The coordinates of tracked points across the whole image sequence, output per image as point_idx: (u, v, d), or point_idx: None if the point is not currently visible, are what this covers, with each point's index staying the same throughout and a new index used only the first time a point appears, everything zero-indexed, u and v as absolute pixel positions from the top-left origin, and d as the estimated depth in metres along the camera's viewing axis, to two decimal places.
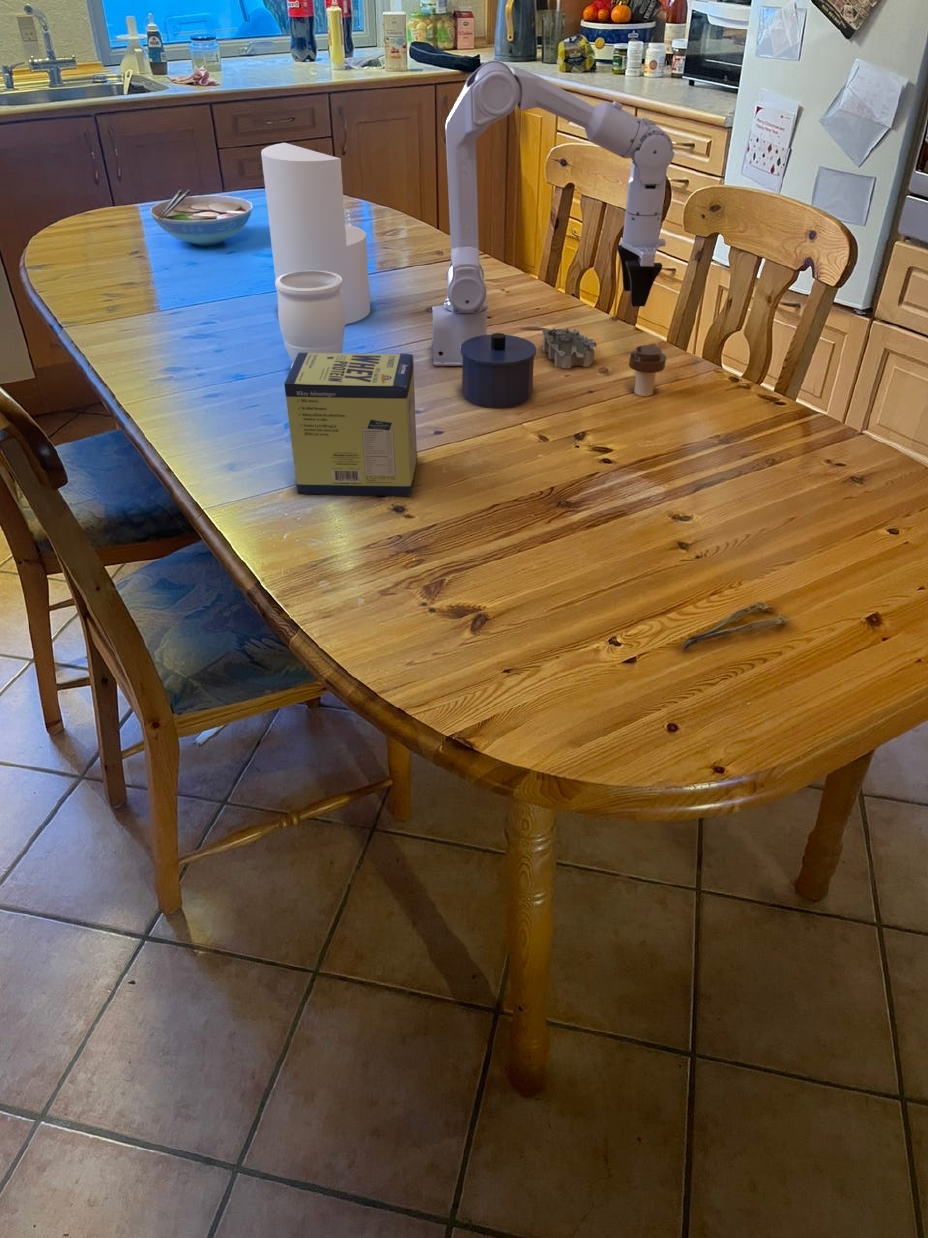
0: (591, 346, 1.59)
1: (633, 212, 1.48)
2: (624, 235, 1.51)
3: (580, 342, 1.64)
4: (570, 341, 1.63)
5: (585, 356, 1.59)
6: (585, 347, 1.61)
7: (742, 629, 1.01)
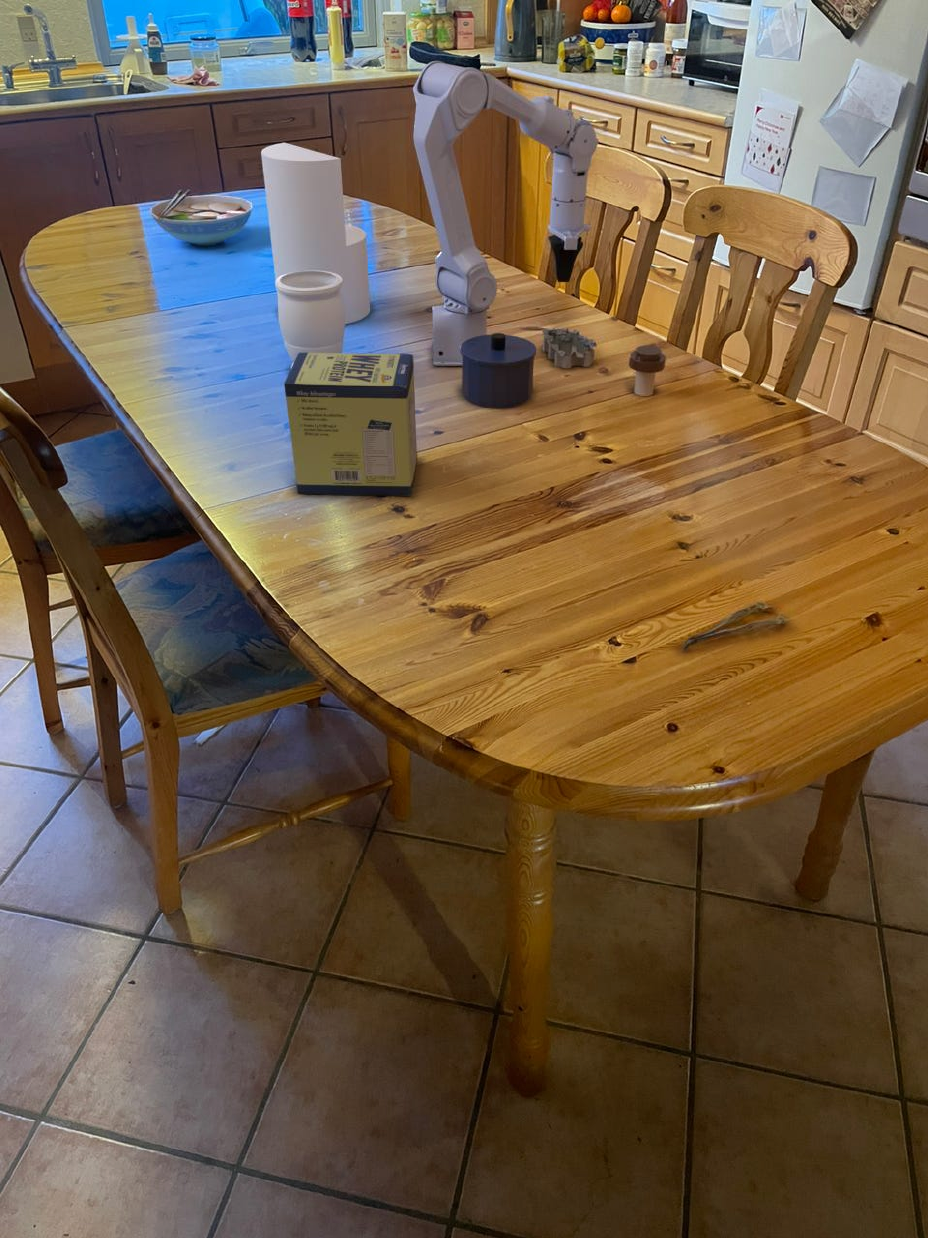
0: (591, 346, 1.59)
1: (566, 200, 1.56)
2: (550, 221, 1.60)
3: (580, 342, 1.64)
4: (570, 341, 1.63)
5: (585, 356, 1.59)
6: (585, 347, 1.61)
7: (742, 629, 1.01)
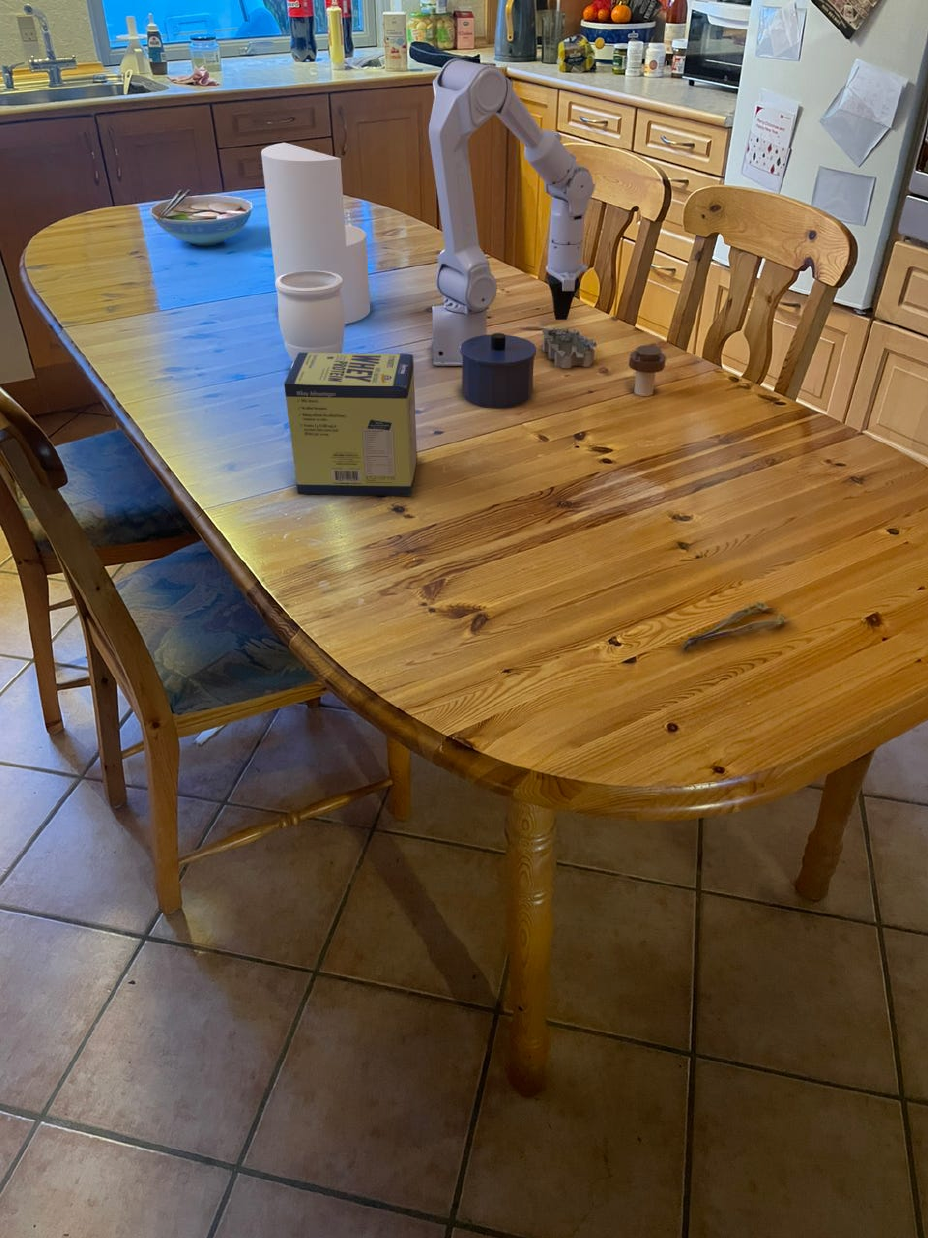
0: (591, 346, 1.59)
1: (564, 242, 1.60)
2: (548, 262, 1.64)
3: (580, 342, 1.64)
4: (570, 341, 1.63)
5: (585, 356, 1.59)
6: (585, 347, 1.61)
7: (742, 630, 1.01)
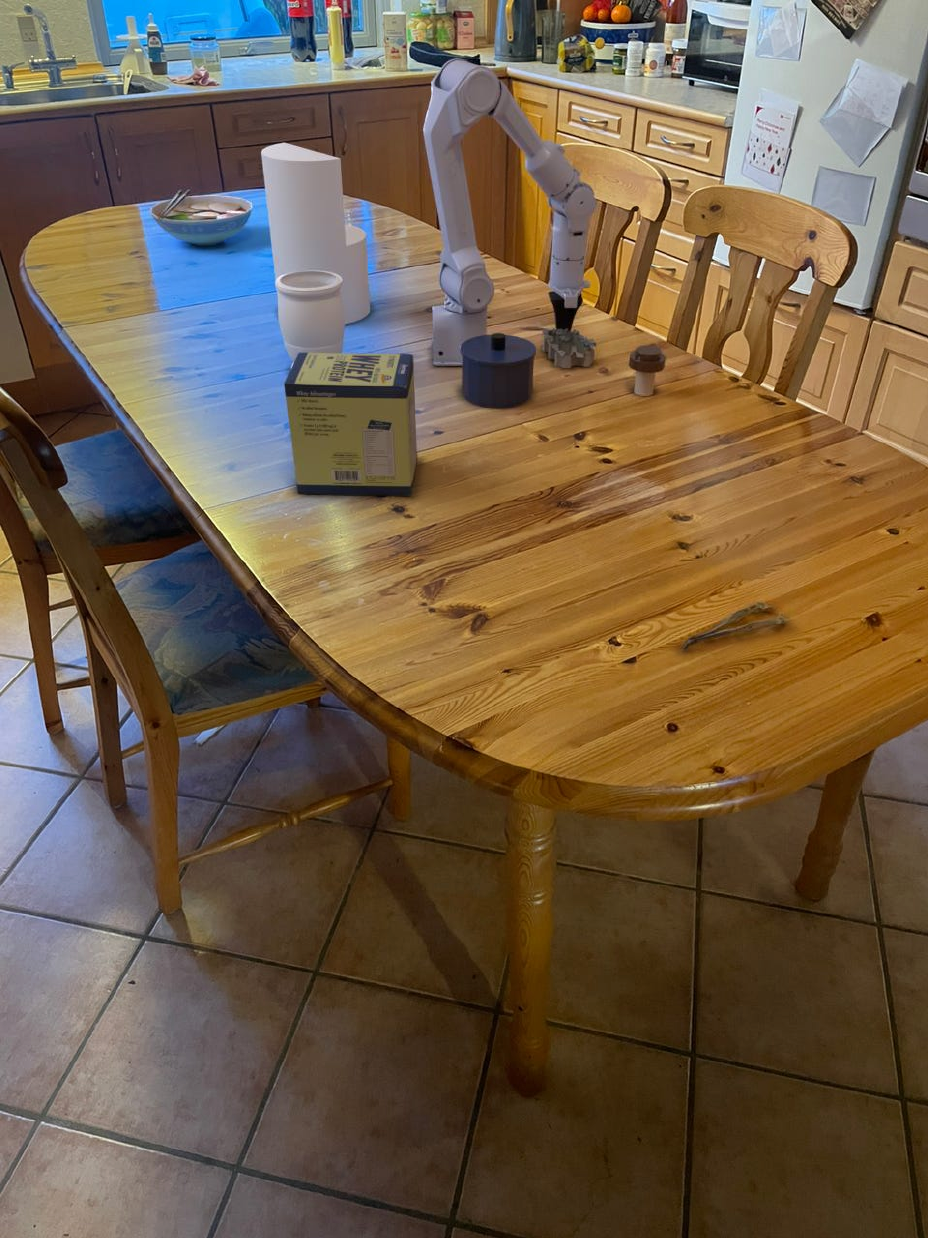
0: (591, 346, 1.59)
1: (563, 258, 1.58)
2: (551, 278, 1.61)
3: (580, 342, 1.64)
4: (570, 341, 1.63)
5: (585, 356, 1.59)
6: (585, 347, 1.61)
7: (742, 629, 1.01)
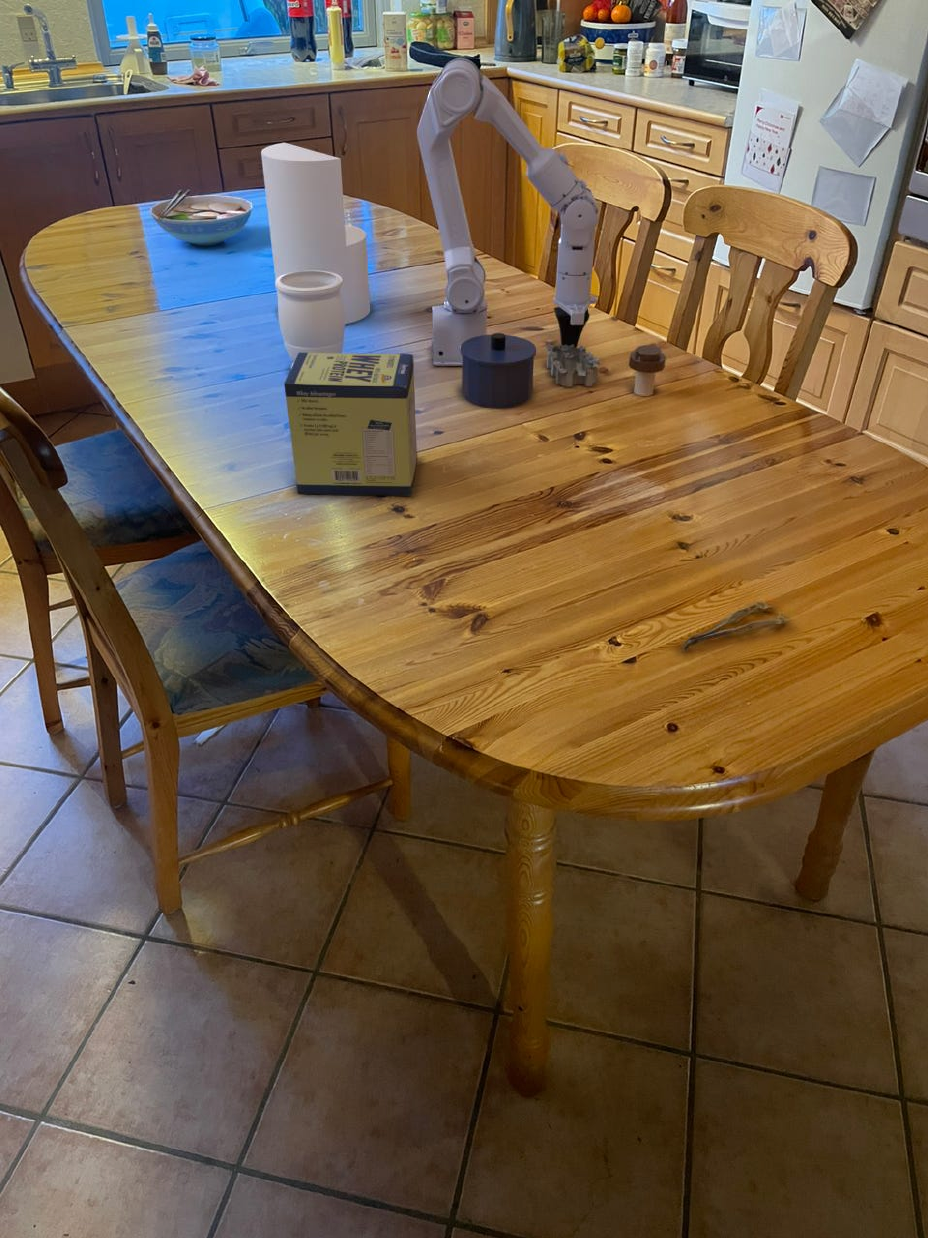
0: (594, 364, 1.52)
1: (562, 271, 1.52)
2: (556, 293, 1.55)
3: (585, 360, 1.57)
4: (574, 358, 1.57)
5: (587, 375, 1.53)
6: (589, 365, 1.55)
7: (742, 629, 1.01)
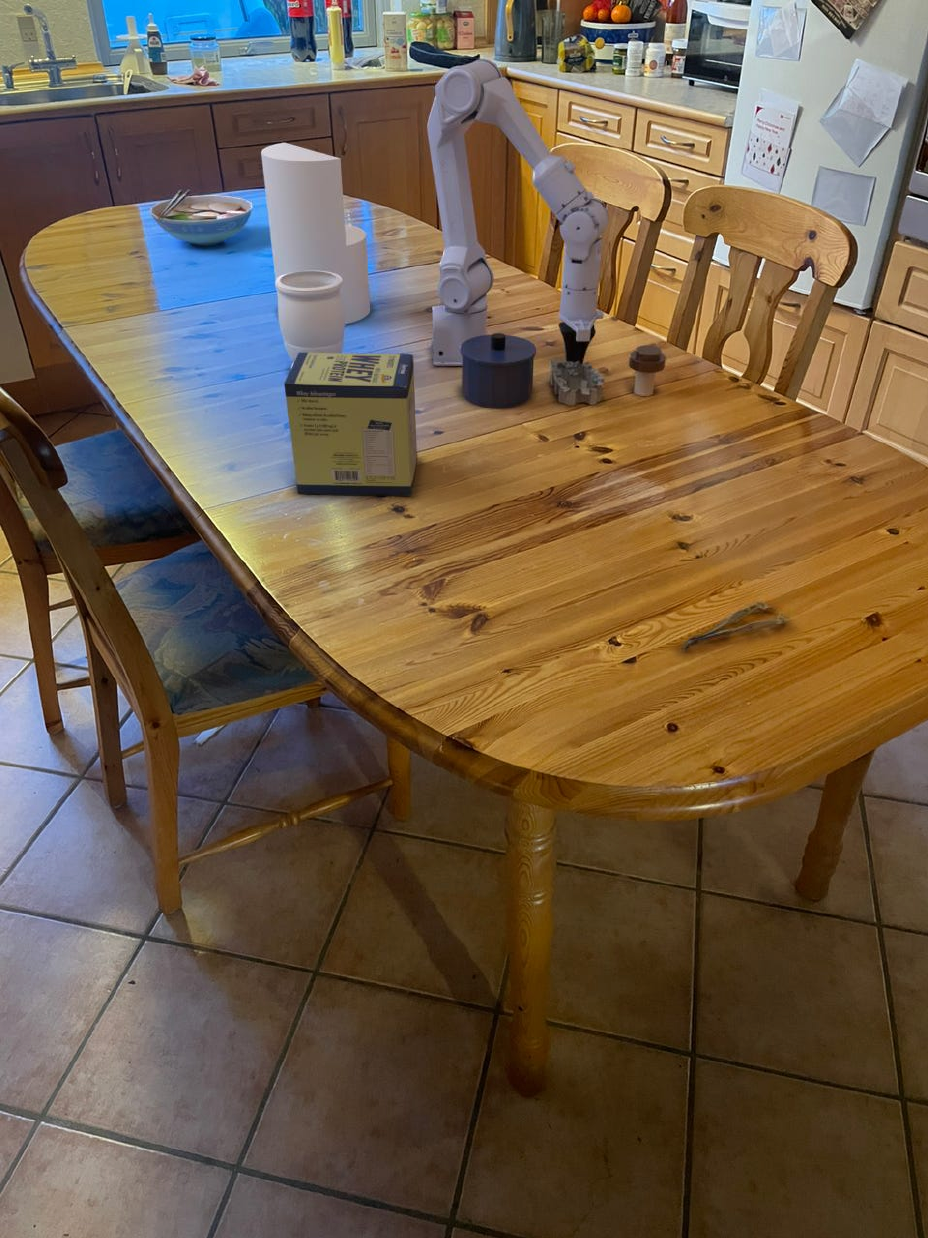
0: (598, 383, 1.47)
1: (563, 284, 1.47)
2: (561, 308, 1.49)
3: (590, 378, 1.52)
4: (579, 376, 1.51)
5: (591, 393, 1.47)
6: (593, 383, 1.49)
7: (742, 629, 1.01)
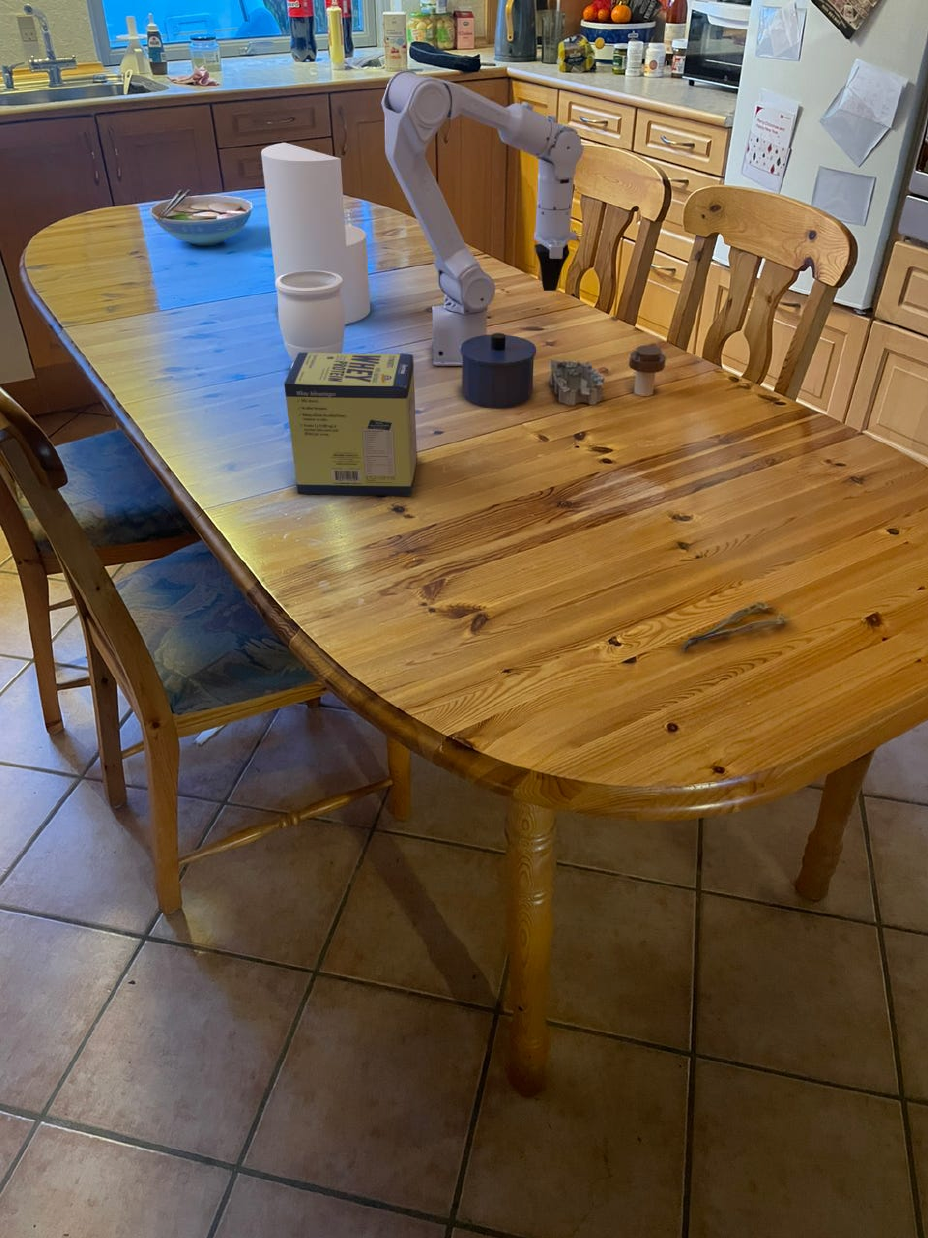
0: (598, 383, 1.47)
1: (549, 207, 1.52)
2: (536, 228, 1.56)
3: (590, 378, 1.52)
4: (579, 376, 1.51)
5: (591, 393, 1.47)
6: (593, 383, 1.49)
7: (742, 629, 1.01)
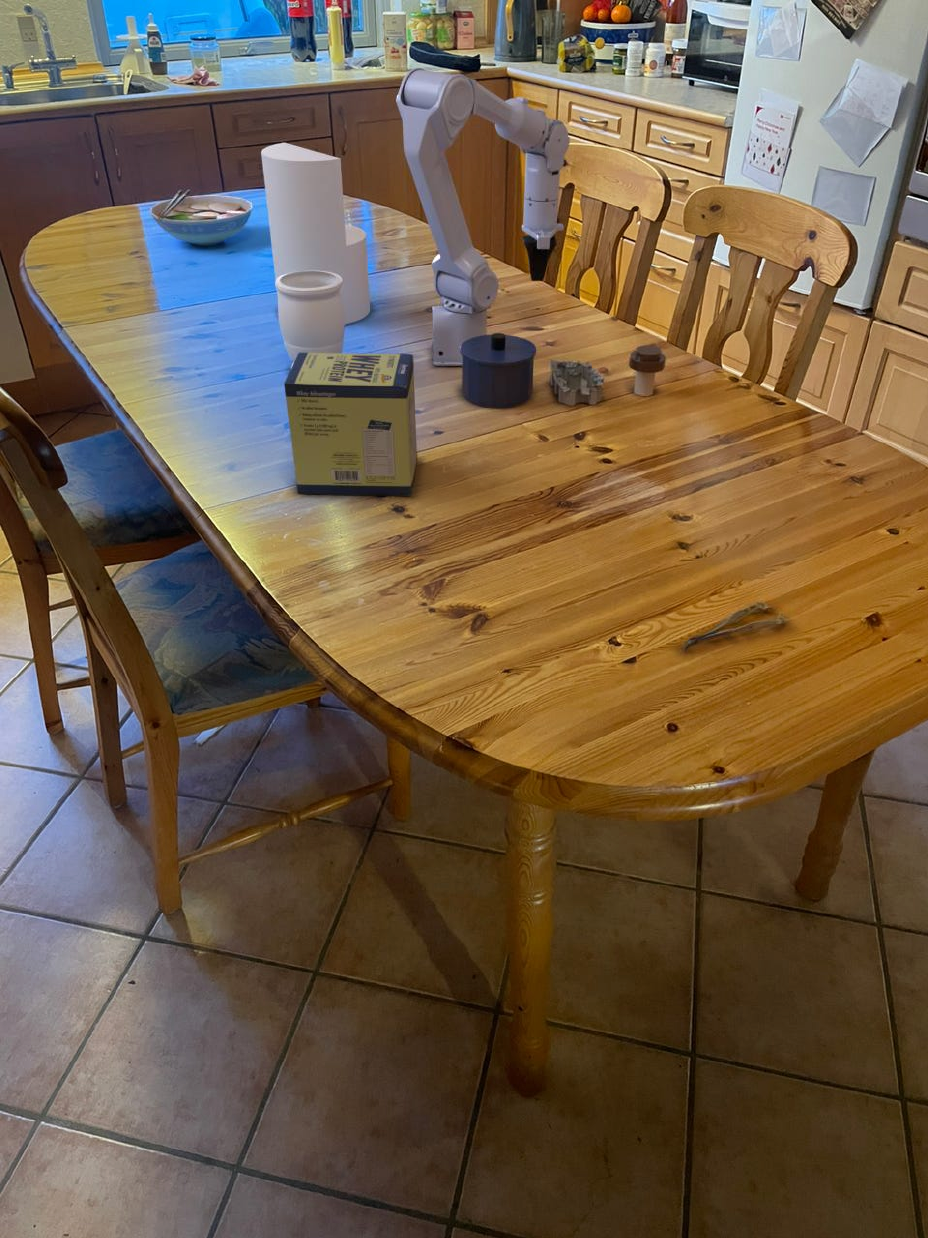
0: (598, 383, 1.47)
1: (542, 199, 1.57)
2: (524, 220, 1.61)
3: (590, 378, 1.52)
4: (579, 376, 1.51)
5: (591, 393, 1.47)
6: (593, 383, 1.49)
7: (742, 629, 1.01)
